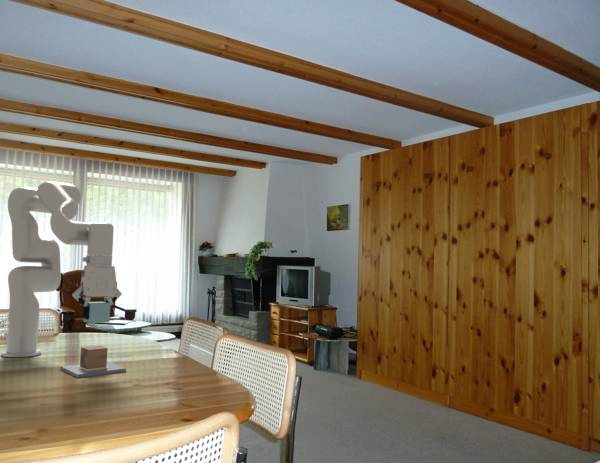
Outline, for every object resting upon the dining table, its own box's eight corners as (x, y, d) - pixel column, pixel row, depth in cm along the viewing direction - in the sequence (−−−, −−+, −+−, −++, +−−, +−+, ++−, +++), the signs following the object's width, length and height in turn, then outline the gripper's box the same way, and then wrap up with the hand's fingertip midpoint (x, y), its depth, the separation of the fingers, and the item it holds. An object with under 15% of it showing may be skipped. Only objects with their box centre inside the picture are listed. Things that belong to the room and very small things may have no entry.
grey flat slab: (60, 369, 162) (60, 365, 162) (107, 364, 173) (107, 360, 173) (77, 377, 152) (77, 373, 152) (125, 371, 162) (126, 367, 163)
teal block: (82, 321, 163) (84, 302, 164) (101, 320, 167) (102, 301, 168) (90, 323, 159) (91, 303, 159) (109, 322, 163) (110, 303, 163)
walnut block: (79, 366, 163) (80, 346, 163) (98, 364, 167) (99, 345, 167) (87, 369, 158) (88, 349, 159) (106, 367, 162) (107, 348, 163)
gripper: (76, 260, 156) (73, 321, 155) (130, 262, 168) (127, 318, 166) (67, 260, 161) (63, 318, 160) (120, 261, 173) (117, 315, 172)
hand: (96, 317), depth 163 cm, fingers closed on teal block, 6 cm apart
